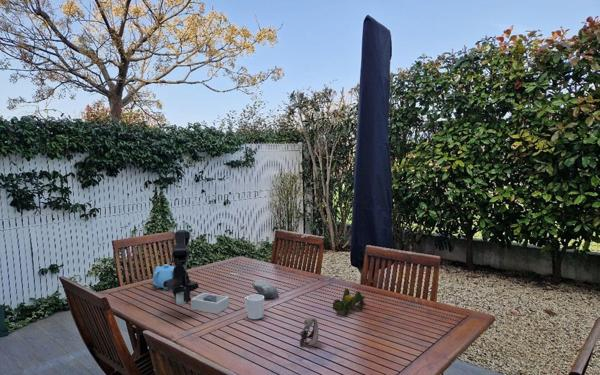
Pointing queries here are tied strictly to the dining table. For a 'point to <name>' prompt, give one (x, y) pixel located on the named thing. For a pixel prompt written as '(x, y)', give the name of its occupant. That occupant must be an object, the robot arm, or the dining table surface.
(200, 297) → the tote
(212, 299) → the metal block
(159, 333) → the dining table surface
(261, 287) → the rock
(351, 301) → the toy
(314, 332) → the toy
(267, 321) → the dining table surface
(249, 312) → the mug
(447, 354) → the dining table surface
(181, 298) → the jar
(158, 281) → the teapot
